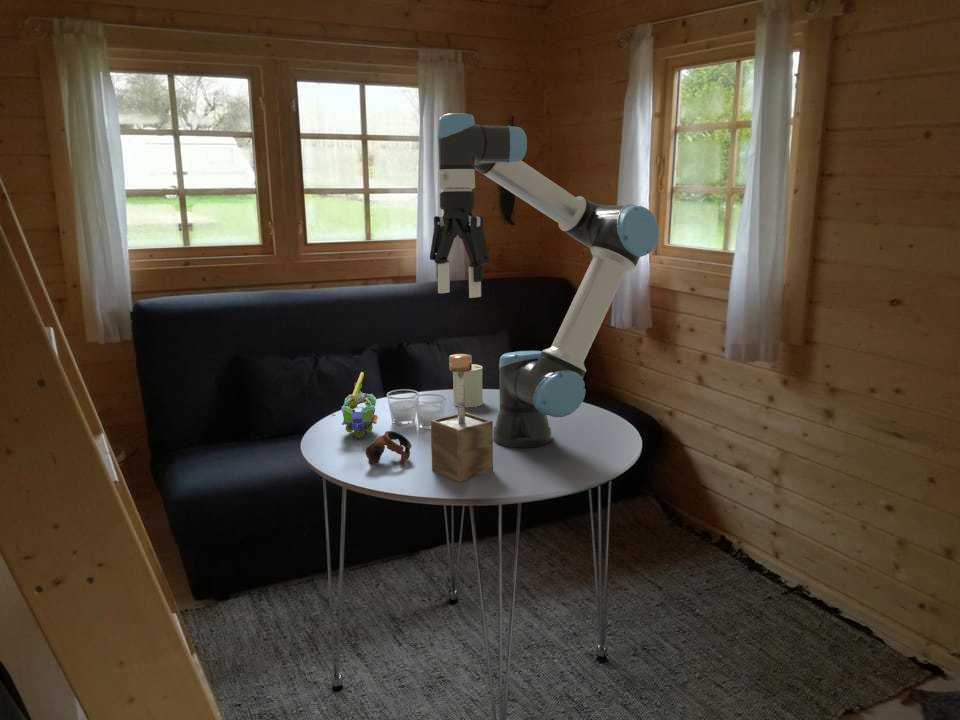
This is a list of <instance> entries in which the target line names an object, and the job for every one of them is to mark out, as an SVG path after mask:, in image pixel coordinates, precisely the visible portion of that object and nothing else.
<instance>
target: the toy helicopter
mask: <svg viewBox="0 0 960 720" xmlns="http://www.w3.org/2000/svg"><path fill="white" fill-rule="evenodd" d="M364 375H365V373H364V372H363V371H361V372H360V374H359V377H358V379H357V382H355V383H354V389H353V392H352V394H348V396H347V397H345V399H344V403H343V406H342V405H341V413H342V418H343V421H342V423H341V425H342V426H345V431H346V432H347V433H353V438H354V439H355V440H359V439H361V440H364V439H365V438H366V434H367V432H371V431H373V424H374V425H376V424H377V420H378V418H379V415H377V414H375V412H376V408H375V407H376V403H377V398H376V396H374V395H373V393H370V394H368V393H363V392H362V391H361V389H362V387H363V384H362V382H363V379H364ZM359 403H364V405H365V406H362V407H361V406H360V407H358V405H359ZM356 409H361V411H356Z"/></svg>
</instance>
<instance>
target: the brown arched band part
mask: <svg viewBox="0 0 960 720" xmlns="http://www.w3.org/2000/svg"><path fill="white" fill-rule="evenodd" d="M395 440H398V442H399V444H398V443H397V442H395ZM385 446H386V447H385ZM411 448H412V444H411V442H410V441H409V439H408V438H407V437H405V436H404V435H402V434H401V433H399V432H395V431H394V430H393V431H392V430H387V431H385V432H384V434H382V435H380V436H378V437H377V438H375V439H374V442H371V443H370V444H369V445H368V446H367V447H366V449H365V455H366V457H367V460H368V464H370V465H372V464H375V465H378V464H379V463H380V459H381V457H382V456H383V453H385V449H387V450H390V451H391V452H394V453H396V454H398V455H400V456H401V458H400V460H399V465H401V466H404V465H405V464H406V463H407V460H409V458H410V455H411Z"/></svg>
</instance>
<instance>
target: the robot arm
mask: <svg viewBox="0 0 960 720" xmlns="http://www.w3.org/2000/svg"><path fill="white" fill-rule="evenodd" d="M437 127H438V128H437V140H438V142H437V143H438V144H437V145H438V163H439V164H438V165H439V166H438V167H439V168H438V169H439V170H438V171H439V188H440V190H442V191H440V193H439V208H440V209H441V210H443V215H436V216H434V217H433V225H434V227H433V232H432V238H431V239H432V240H431V246H430V252H429V259H430V260H431V261H433V262H434V263H435V264H436V277H437V293H438V294H446V293H447V294H448V293H450V288H451V287H450V285H451V284H450V283H451V282H450V263H449V262H450V261H449V260H448V257H449V254H450V253H451V250H452V247H453V244H454V240H455V238H457V237H459V239H461V241H462V243H463V246H464V249H465V252H466V254H467V257H468V259H469V261H470V264H469V265H468V298H469V299H473V298H480V297H482V282H483V266H484V265H486V264H489V263H490V256H489V251H488V248H487V247H488V245H487V243H486V237H485V232H484V231H485V230H484V218H483V216H480V215H479V216H473V213H472V212H473V210H474V209H475V208H476V193H475V191H473V190H474V189H475V188H476V171H477V172H479V173H481V174H482V175H484V176H486V177H487V178H488V179H489V180H491V181H493V182H494V183H496V184H498V185H499V186H501V187H502V188H504V189H505V190H507V191H508V192H510V193H511V194H513V196H516V197H517V198H519V199H520V200H522V201H524V202H525V203H527V204H528V205H530V206H531V207H533V208H534V209H536V210H538V211H539V212H541V213H542V214H544V215H546V217H548V218H550V219H552V220H553V221H555V222H556V223H558V227H559V229H560V230H561V231H563V232H564V233H566V234H567V235H568V236H570V237H572V238H573V239H575V240H576V241H578V242H579V243H581V244H582V245H584V246H586V247H587V248H589V249H590V253H591V255H592V260H591V261H590V264H589V266H588V268H587V270H586V272H585V274H584V276H583V279H582V280H581V283H580V284H579V286H578V289H577V291H576V294H574V297H573V299H572V301H571V304H570V306H569V308H568V310H567V312H566V314H565V317H564V318H563V320H562V323H561V325H560V327H559V329H558V332H557V334H556V336H555V337H554V339H553V342H552V344H551V346H550V347H548V348H545V349H542V351H541V350H519V351H513V352H506V353H504V354H502V355H501V356H500V357H499V363H498V370H499V372H498V373H499V375H498V377H499V383H498V384H499V412H498V414H497V419H496V423H495V426H494V427H493V441H494V442H495V443H497V444H499V445H501V446H506V447H510V448H524V449H525V448H535V447H541V446H544V445H546V444H548V443H550V441H551V440H552V429H551V427H550V425H549V420H548V416H549V417H553V418H564V417H567V416H570V415H572V414H573V413H575V412H576V411H577V410H578V409H579V407H580V406H581V405H582V404H583V401H584V399H585V396H586V388H585V386H586V384H585V381H584V377H585V374H586V372H587V369H586V366H585V359H586V358H587V356H588V353H589V351H590V349H591V347H592V344H593V342H594V340H595V339H596V336H597V334H598V332H599V330H600V328H601V326H602V324H603V321H604V319H605V317H606V314H607V313H608V311H609V309H610V307H611V304H612V302H613V301H614V298H615V295H616V294H617V291H618V289H619V288H620V286H621V283H622V281H623V279H624V277H625V275H626V273H627V272H629V271H633V270H635V268H636V267H637V264H638V262H639V260H640V258H641V257H645V256H647V255H649V254H651V253H652V252H653V251H654V249H655V248H656V246H657V244H658V241H659V236H660V231H659V230H660V229H659V226H658V221H657V219H656V216H655V215H654V214H653V212H652V211H650V209H649V208H647V207H645V206H641V205H636V204H625V205H618V204H617V205H616V204H615V205H614V204H613V205H611V204H610V205H609V204H608V205H607V204H598V203H595V202H592V201H590V200H588V199H586V198H584V196H580V195H579V196H574V195H573V194H572V193H570V192H568V191H567V190H566V189H564V188H563V187H561V186H559V185H558V184H557V183H555V182H554V181H552V180H550V179H549V178H548V177H546V176H545V175H543V174H542V173H541V172H539V171H538V170H536V169H535V168H534V167H532V166H530V165H529V164H527V162H524V161H522V160H523V159H524V157H525V156H526V153H527V150H528V139H527V135H526V132H525V131H524V129H523V128H521V127H519V126H511V125H479V124H476V122H475V117H474V115H473V114H470V113H465V112H464V113H463V112H461V113H460V112H457V113H446V114H443V115H441V116H440V117H439V119H438V125H437Z"/></svg>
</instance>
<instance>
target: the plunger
mask: <svg viewBox="0 0 960 720" xmlns="http://www.w3.org/2000/svg"><path fill="white" fill-rule="evenodd" d="M448 361H449V362H448V365H449V367H448V368H449V371H450V372H452V373H453V372H457V393H458V407H457V414H458V417H457V418H453V419H449V420H445V421H441V422H440V423H443V424H446V425H448V426H451V427H454V428H457V429H462V428H465V427H469V426H473V425H476V424H480V423H484V422H482V421H478V420H475V419H472V418H469V417H466V416H465V412H466V408H465V387H464V372H466V371H470V370H472V364H473V362H472V355H471V354H467V353H455V354H451V355H449V357H448Z"/></svg>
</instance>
